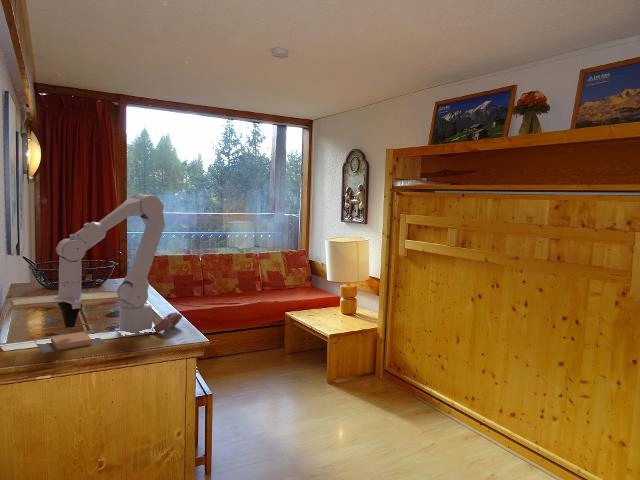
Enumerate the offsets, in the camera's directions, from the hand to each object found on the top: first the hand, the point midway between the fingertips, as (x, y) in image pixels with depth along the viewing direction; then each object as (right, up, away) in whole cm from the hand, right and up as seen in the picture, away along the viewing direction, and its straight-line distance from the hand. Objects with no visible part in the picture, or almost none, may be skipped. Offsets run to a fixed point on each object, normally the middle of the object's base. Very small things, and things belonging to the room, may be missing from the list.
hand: (69, 326), depth 134 cm
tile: (-1, -3, +2) cm, 4 cm away
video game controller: (+22, -5, +18) cm, 29 cm away
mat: (-1, -5, +1) cm, 5 cm away
